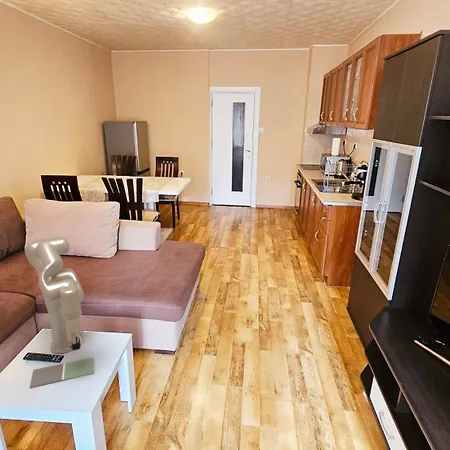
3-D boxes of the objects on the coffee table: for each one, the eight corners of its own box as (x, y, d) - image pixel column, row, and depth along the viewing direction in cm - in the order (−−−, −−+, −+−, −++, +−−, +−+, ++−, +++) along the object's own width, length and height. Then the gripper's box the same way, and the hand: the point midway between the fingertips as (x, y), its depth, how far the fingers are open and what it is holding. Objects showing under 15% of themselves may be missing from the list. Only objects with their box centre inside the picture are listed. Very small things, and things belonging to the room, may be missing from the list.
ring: (85, 345, 152) (83, 331, 150) (84, 350, 149) (82, 335, 147) (69, 348, 150) (67, 333, 148) (67, 352, 147) (65, 337, 145)
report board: (33, 370, 151) (33, 369, 151) (93, 358, 160) (93, 356, 160) (29, 388, 141) (29, 387, 141) (94, 373, 151) (93, 372, 150)
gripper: (64, 305, 149) (68, 339, 155) (61, 324, 136) (66, 361, 141) (81, 302, 152) (85, 336, 158) (80, 321, 138) (85, 357, 144)
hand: (76, 347), depth 149 cm, fingers closed on ring, 1 cm apart
